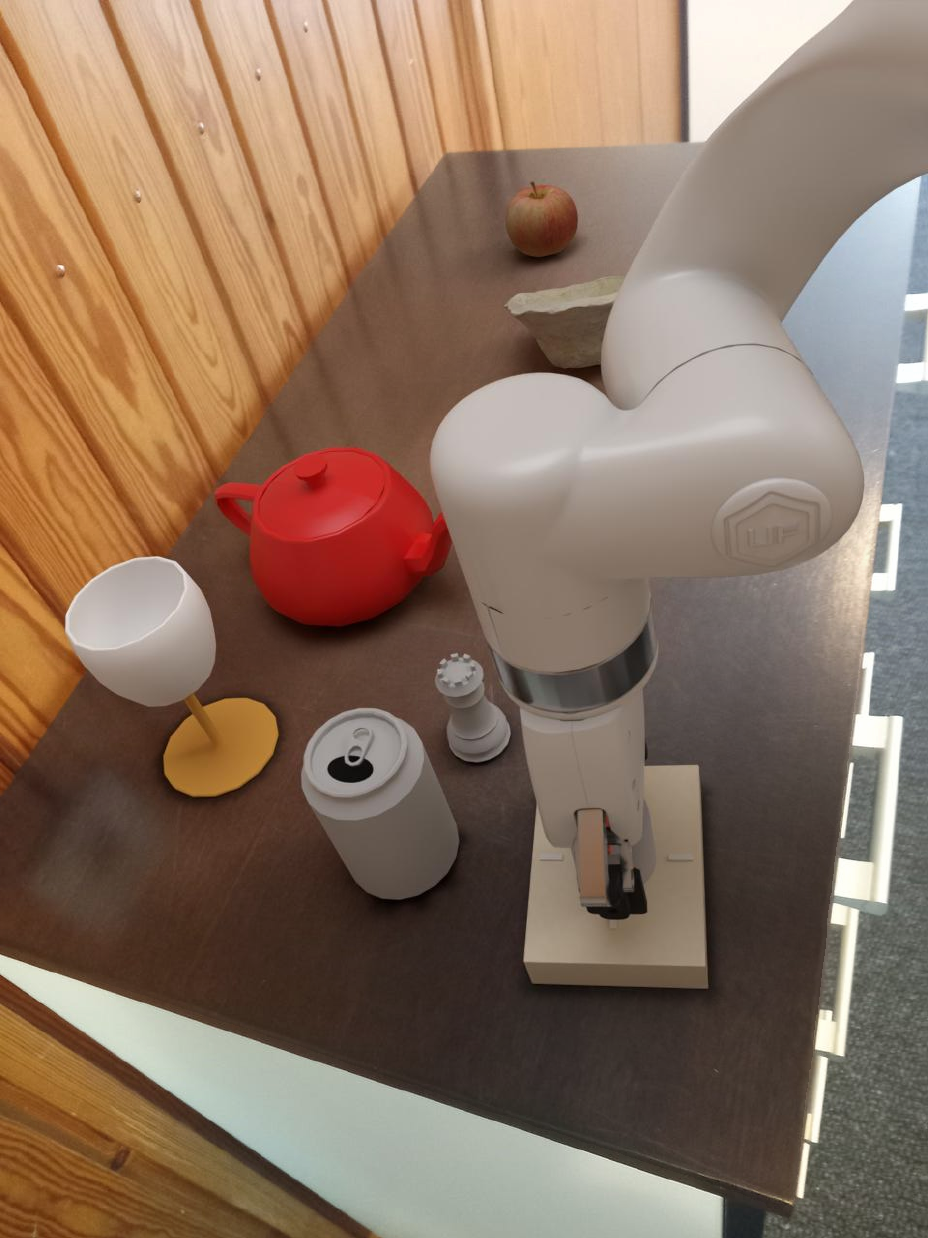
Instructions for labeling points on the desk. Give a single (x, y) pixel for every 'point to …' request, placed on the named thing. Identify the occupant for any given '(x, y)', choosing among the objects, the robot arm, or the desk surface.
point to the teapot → (336, 536)
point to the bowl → (569, 319)
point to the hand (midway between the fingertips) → (619, 830)
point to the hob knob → (636, 848)
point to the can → (380, 802)
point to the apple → (541, 220)
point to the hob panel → (643, 943)
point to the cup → (169, 670)
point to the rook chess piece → (470, 711)
